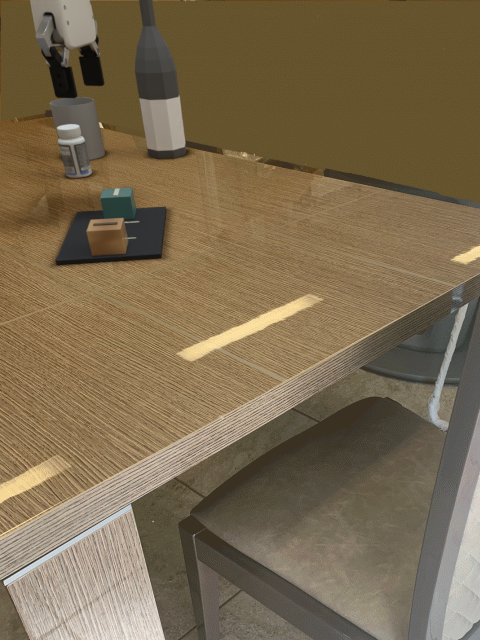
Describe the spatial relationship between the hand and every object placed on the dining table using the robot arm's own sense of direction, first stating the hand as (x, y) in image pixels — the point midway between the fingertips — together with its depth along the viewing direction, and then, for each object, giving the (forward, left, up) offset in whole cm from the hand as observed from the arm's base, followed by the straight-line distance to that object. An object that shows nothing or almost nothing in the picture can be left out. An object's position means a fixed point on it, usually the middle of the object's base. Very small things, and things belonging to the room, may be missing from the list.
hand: (81, 91), depth 97 cm
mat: (+3, -16, -17) cm, 23 cm away
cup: (-8, +31, -17) cm, 36 cm away
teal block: (+4, -9, -16) cm, 19 cm away
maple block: (+3, -23, -16) cm, 28 cm away
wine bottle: (+9, +29, -17) cm, 35 cm away
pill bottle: (-7, +17, -17) cm, 25 cm away
